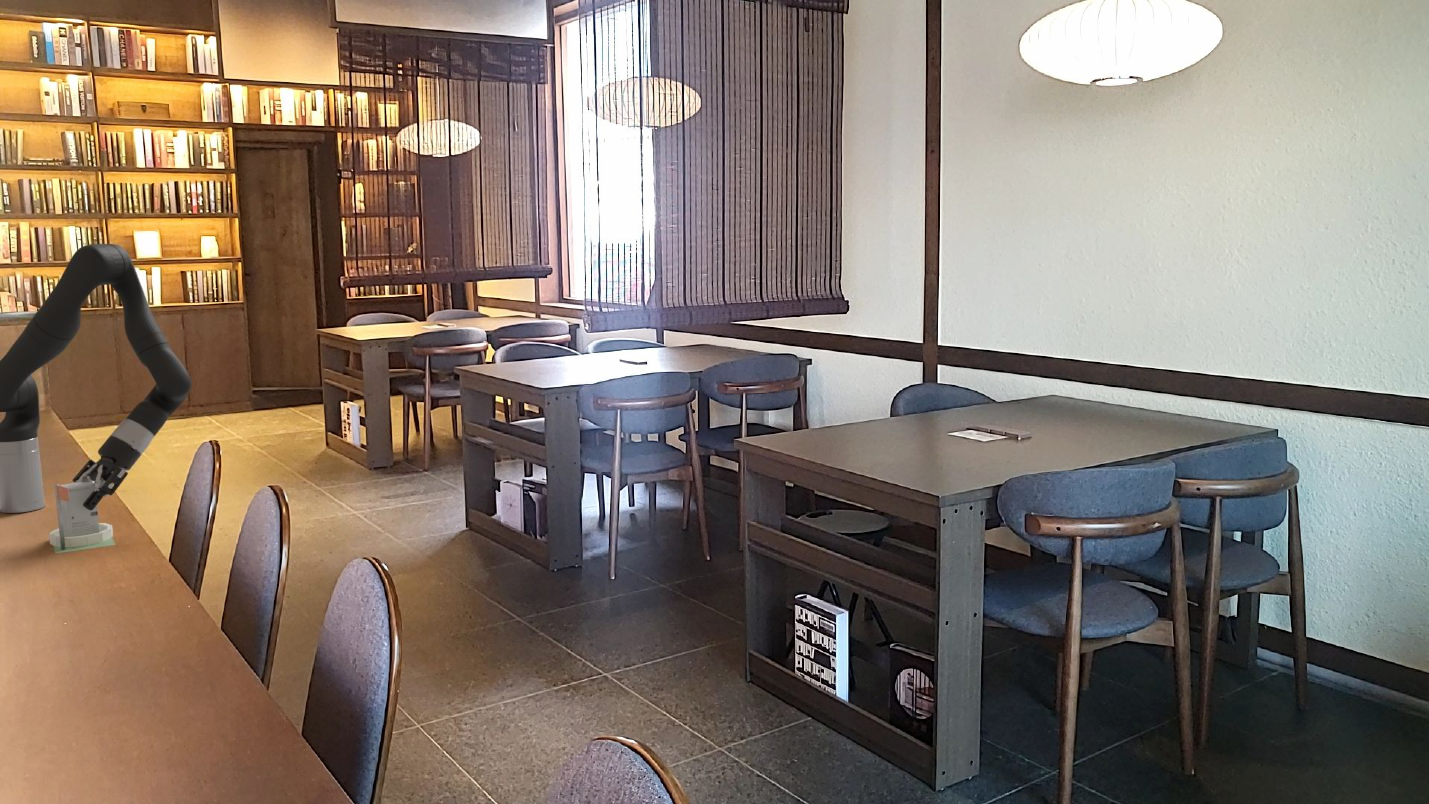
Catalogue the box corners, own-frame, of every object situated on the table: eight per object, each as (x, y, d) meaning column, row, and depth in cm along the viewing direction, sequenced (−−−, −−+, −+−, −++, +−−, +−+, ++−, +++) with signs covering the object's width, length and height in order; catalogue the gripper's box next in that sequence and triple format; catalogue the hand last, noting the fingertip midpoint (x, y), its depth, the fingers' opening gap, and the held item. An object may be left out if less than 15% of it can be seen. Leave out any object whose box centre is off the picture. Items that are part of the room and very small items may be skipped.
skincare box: (71, 543, 235) (65, 488, 233) (62, 540, 238) (56, 485, 236) (101, 537, 240) (96, 483, 238) (93, 534, 242) (87, 480, 240)
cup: (40, 541, 237) (39, 532, 237) (96, 529, 246) (95, 520, 246) (66, 550, 230) (65, 540, 230) (122, 537, 240) (121, 528, 239)
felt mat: (49, 535, 243) (49, 533, 243) (106, 527, 249) (106, 526, 249) (55, 555, 228) (55, 553, 228) (115, 546, 234) (115, 544, 234)
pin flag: (60, 549, 231) (53, 484, 228) (64, 548, 231) (57, 483, 229) (71, 553, 228) (64, 487, 226) (75, 552, 228) (68, 486, 226)
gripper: (97, 431, 246) (47, 491, 239) (129, 437, 238) (78, 500, 230) (124, 450, 251) (76, 510, 244) (156, 457, 243) (107, 519, 235)
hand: (77, 505), depth 237 cm, fingers open, 8 cm apart
